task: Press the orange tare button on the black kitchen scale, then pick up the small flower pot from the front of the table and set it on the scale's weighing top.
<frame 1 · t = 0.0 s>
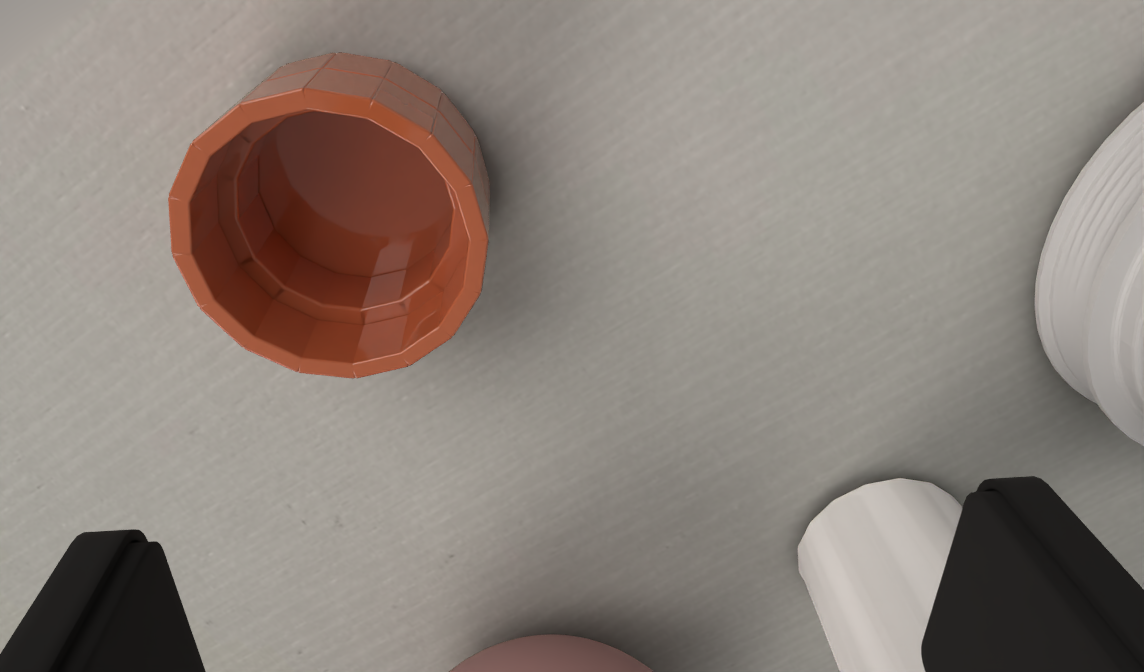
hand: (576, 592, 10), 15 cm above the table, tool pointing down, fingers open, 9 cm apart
cup: (873, 533, 30), on the table
flower pot: (361, 182, 22), on the table
mortar and pestle: (541, 668, 33), on the table
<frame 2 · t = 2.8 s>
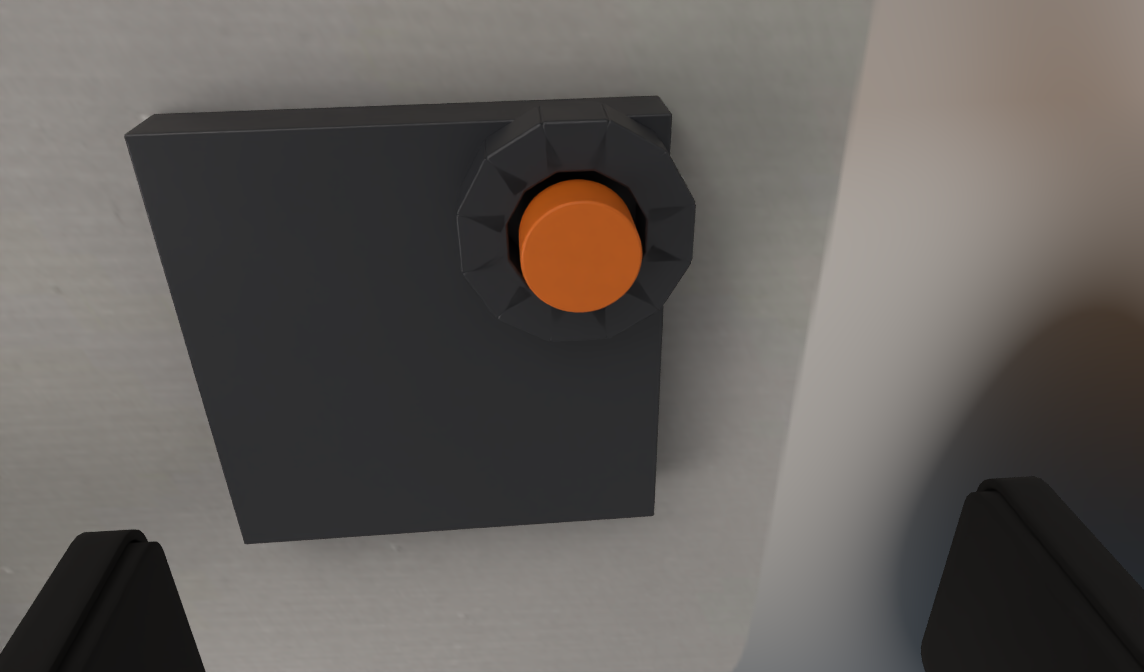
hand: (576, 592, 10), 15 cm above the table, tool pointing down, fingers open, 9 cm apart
tare button: (578, 246, 19), point 4 cm above the table, slide at 0.1 cm
scale: (435, 323, 24), on the table
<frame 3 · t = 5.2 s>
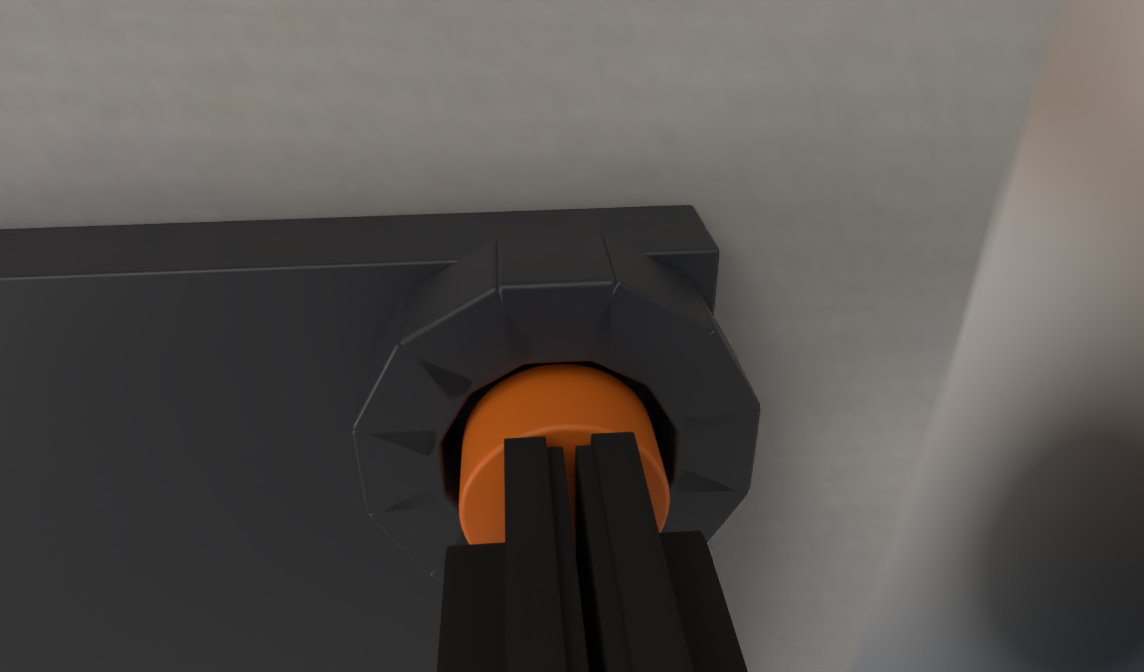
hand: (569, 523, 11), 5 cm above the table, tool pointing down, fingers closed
tare button: (561, 475, 11), point 4 cm above the table, slide at 0.0 cm, touching gripper
scale: (352, 521, 16), on the table
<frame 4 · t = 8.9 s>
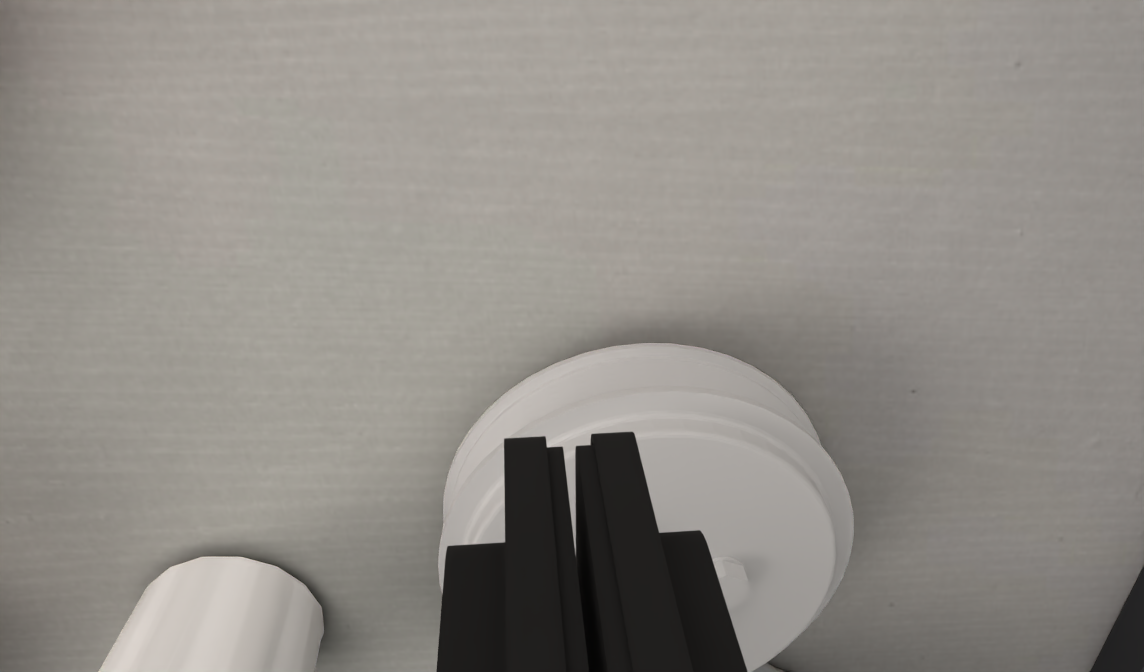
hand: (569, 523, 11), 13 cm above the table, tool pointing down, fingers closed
cup: (238, 607, 29), on the table
gray bolted wheel hub: (631, 485, 28), on the table
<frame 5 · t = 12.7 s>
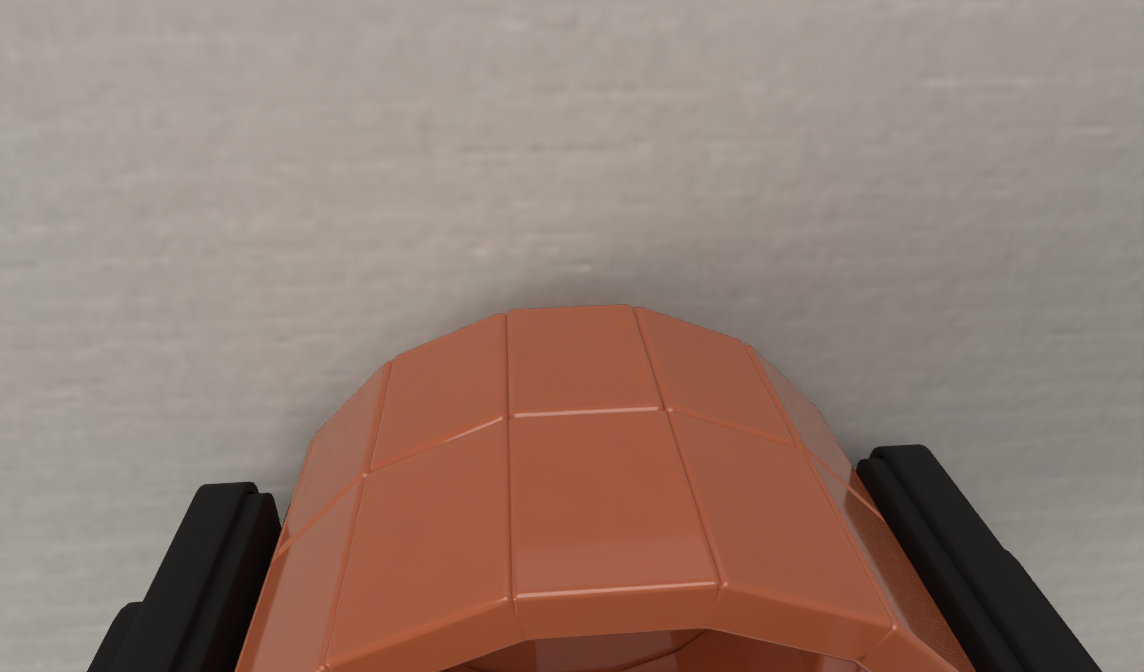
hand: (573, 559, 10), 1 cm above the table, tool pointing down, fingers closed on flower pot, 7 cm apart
flower pot: (568, 516, 11), on the table, touching gripper
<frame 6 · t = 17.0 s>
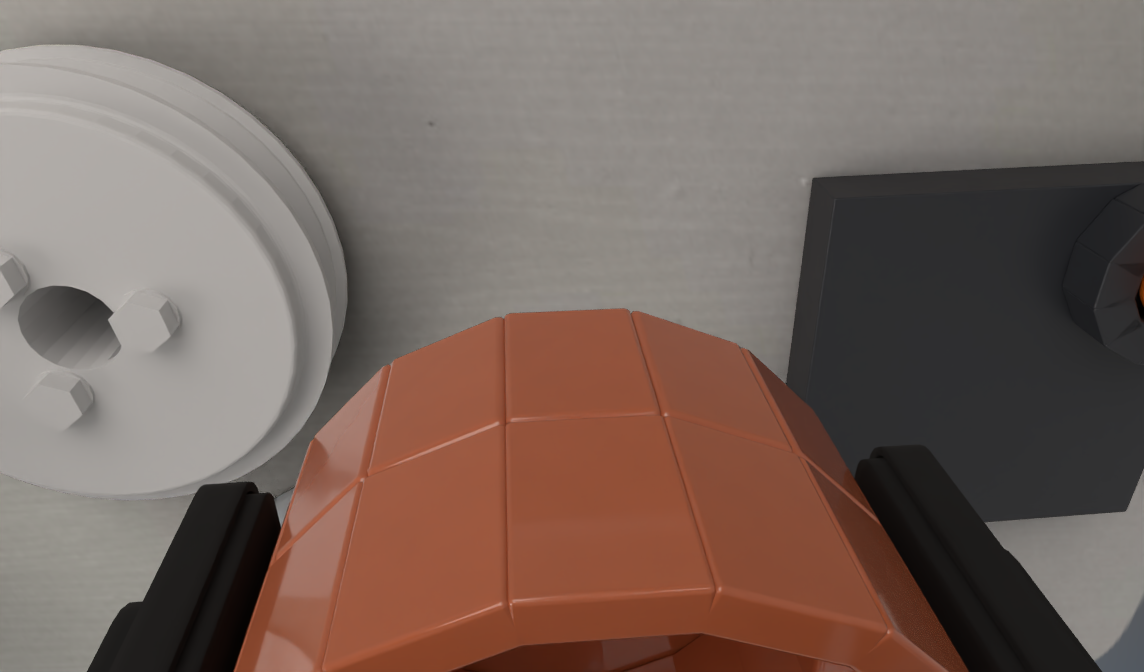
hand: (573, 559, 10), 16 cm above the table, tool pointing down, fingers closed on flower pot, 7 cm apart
flower pot: (566, 519, 11), point 15 cm above the table, touching gripper
figurine: (370, 558, 31), on the table
scale: (970, 347, 28), on the table
gray bolted wheel hub: (139, 256, 24), on the table
when the fingers open (4 cm above the table, at t = 21.6 s): flower pot stays where it is, resting on scale.
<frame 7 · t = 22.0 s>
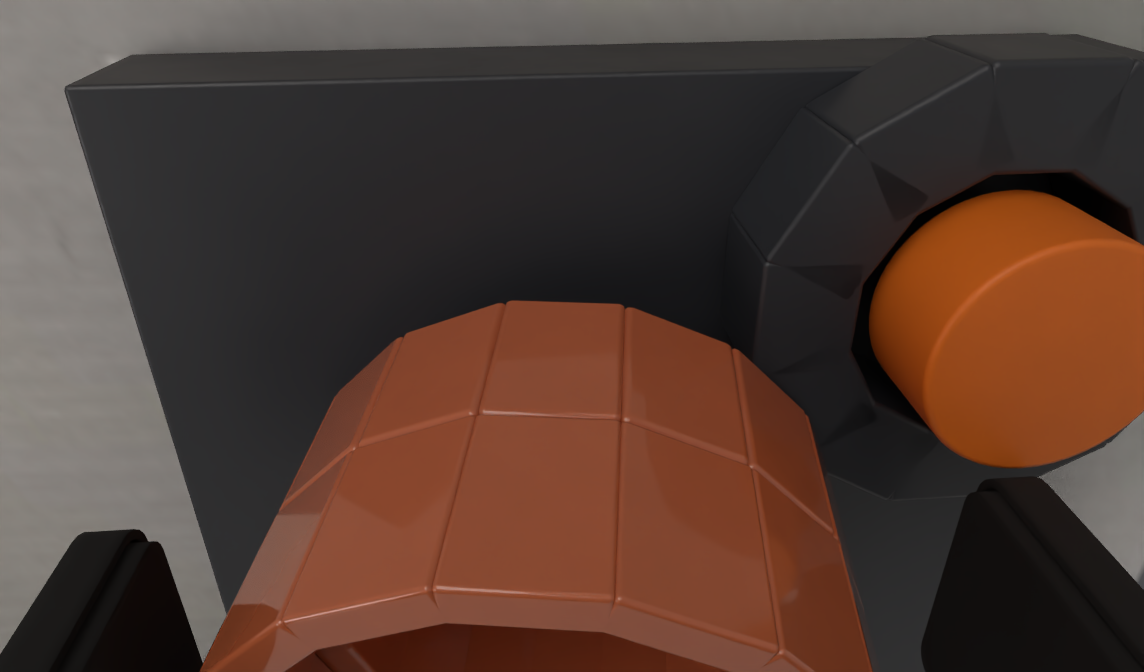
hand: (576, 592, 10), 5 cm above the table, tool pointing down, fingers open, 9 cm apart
tare button: (1016, 329, 9), point 4 cm above the table, slide at 0.1 cm
flower pot: (571, 483, 12), point 2 cm above the table, tilted 11°, touching scale
scale: (613, 431, 14), on the table
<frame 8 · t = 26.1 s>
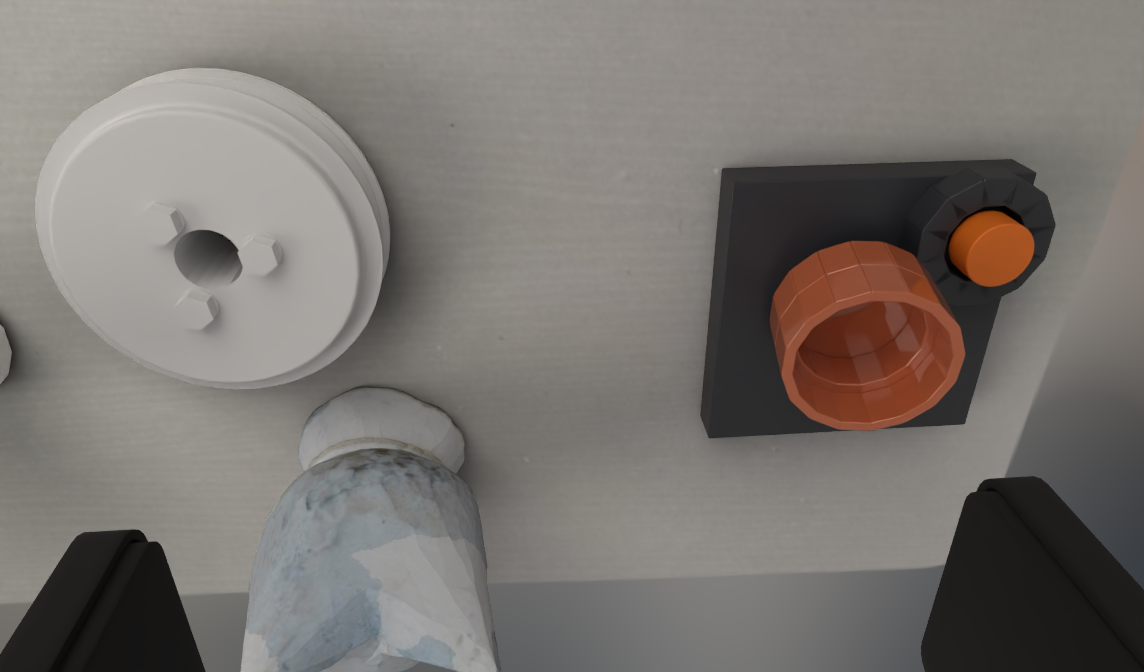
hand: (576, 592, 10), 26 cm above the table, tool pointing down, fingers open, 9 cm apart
tare button: (990, 248, 33), point 4 cm above the table, slide at 0.1 cm
flower pot: (848, 303, 36), point 2 cm above the table, tilted 11°, touching scale
figurine: (395, 454, 41), on the table
scale: (844, 296, 38), on the table
gray bolted wheel hub: (241, 216, 34), on the table
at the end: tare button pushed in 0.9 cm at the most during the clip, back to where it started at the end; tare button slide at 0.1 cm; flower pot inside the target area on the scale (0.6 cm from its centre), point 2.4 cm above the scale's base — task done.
